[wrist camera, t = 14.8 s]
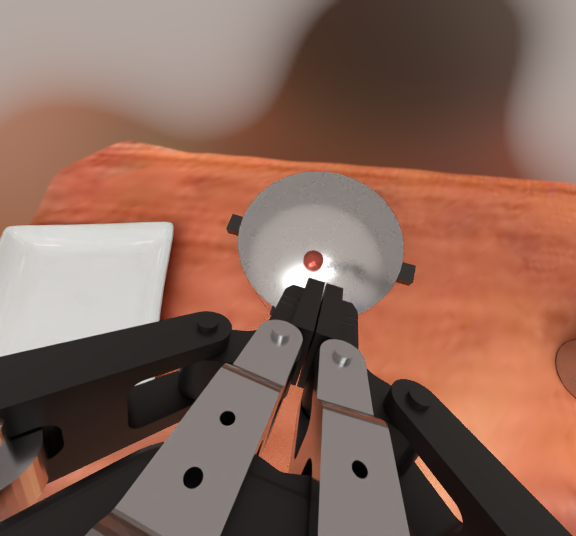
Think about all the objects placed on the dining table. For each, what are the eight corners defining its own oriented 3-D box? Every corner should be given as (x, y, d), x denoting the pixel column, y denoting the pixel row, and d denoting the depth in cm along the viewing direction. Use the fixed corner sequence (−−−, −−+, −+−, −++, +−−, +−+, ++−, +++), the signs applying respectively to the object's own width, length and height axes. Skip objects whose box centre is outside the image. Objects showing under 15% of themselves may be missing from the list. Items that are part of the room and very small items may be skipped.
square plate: (23, 235, 47) (1, 224, 43) (182, 231, 47) (173, 219, 44) (-38, 411, 38) (-73, 415, 34) (161, 405, 38) (148, 408, 34)
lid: (382, 351, 31) (389, 350, 29) (212, 296, 33) (207, 292, 31) (411, 198, 38) (418, 188, 36) (270, 162, 40) (269, 151, 38)
